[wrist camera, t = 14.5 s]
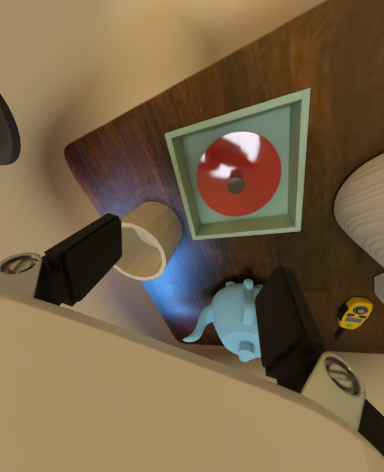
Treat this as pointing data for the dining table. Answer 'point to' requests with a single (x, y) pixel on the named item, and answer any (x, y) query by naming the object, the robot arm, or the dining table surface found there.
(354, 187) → the vase
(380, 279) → the jar
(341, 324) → the remote control
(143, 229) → the pot
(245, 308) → the teapot
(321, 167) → the dining table surface
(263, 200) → the lid
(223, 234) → the green square tray
